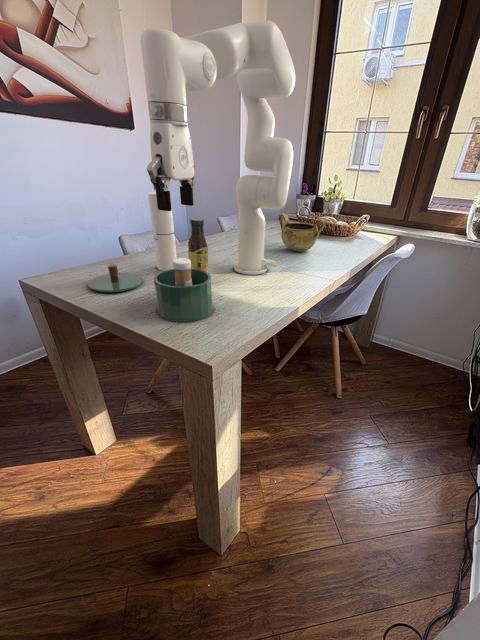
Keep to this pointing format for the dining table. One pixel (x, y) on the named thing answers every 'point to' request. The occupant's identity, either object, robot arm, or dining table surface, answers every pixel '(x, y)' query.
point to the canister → (183, 296)
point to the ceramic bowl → (299, 234)
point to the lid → (114, 281)
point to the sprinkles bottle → (182, 272)
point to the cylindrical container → (162, 234)
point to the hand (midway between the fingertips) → (176, 207)
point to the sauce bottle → (198, 246)
